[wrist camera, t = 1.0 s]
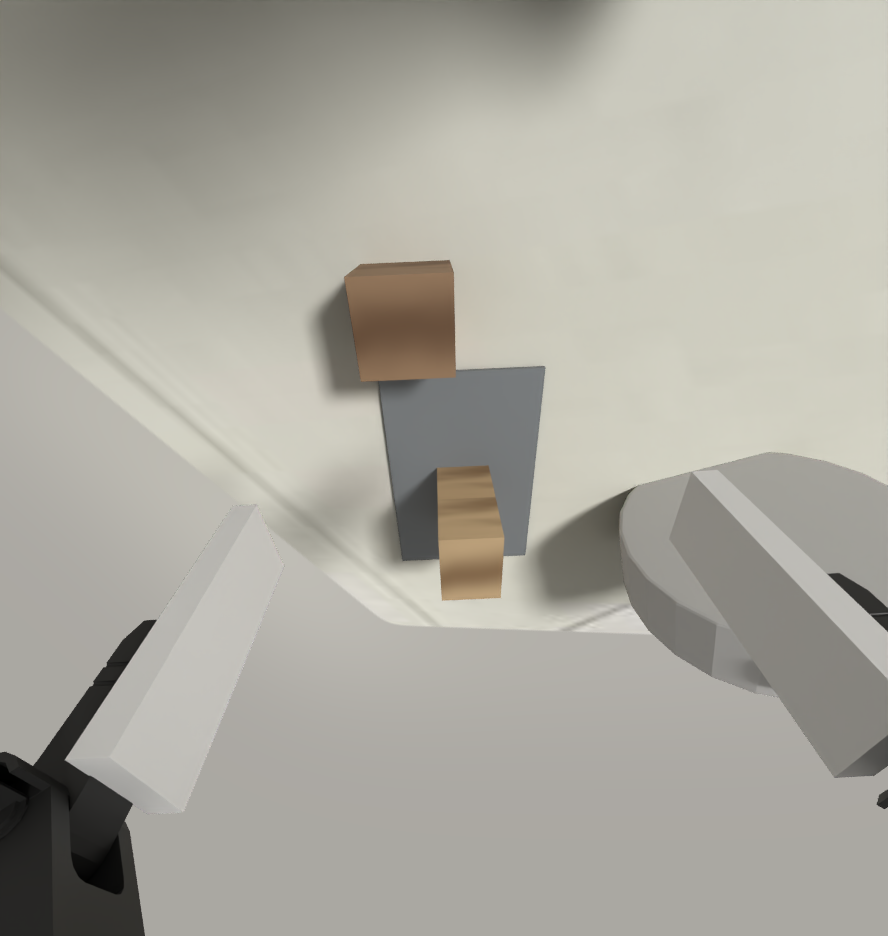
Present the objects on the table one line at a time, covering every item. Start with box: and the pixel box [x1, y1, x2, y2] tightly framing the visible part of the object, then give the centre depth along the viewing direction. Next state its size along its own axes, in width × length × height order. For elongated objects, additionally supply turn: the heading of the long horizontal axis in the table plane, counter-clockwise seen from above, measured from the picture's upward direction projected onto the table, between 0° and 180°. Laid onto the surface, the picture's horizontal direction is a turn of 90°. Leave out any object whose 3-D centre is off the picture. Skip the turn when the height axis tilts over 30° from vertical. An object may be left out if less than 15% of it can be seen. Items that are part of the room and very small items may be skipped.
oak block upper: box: [438, 497, 504, 600], centre depth 34 cm, size 7×5×5 cm
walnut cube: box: [344, 260, 456, 382], centre depth 28 cm, size 6×6×6 cm
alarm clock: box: [619, 452, 888, 697], centre depth 33 cm, size 21×8×20 cm, turn 108°
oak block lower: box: [437, 465, 495, 500], centre depth 38 cm, size 7×5×5 cm
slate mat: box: [379, 366, 545, 561], centre depth 39 cm, size 22×14×1 cm, turn 2°
